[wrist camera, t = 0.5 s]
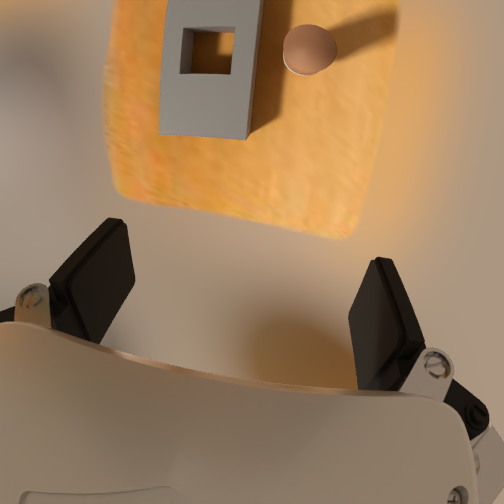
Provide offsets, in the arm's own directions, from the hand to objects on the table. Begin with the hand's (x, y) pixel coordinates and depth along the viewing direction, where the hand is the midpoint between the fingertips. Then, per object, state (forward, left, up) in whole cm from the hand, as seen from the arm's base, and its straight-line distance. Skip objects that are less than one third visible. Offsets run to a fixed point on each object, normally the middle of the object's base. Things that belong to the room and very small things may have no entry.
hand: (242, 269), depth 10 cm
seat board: (-10, -8, -26) cm, 29 cm away
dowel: (-10, +2, -26) cm, 28 cm away
